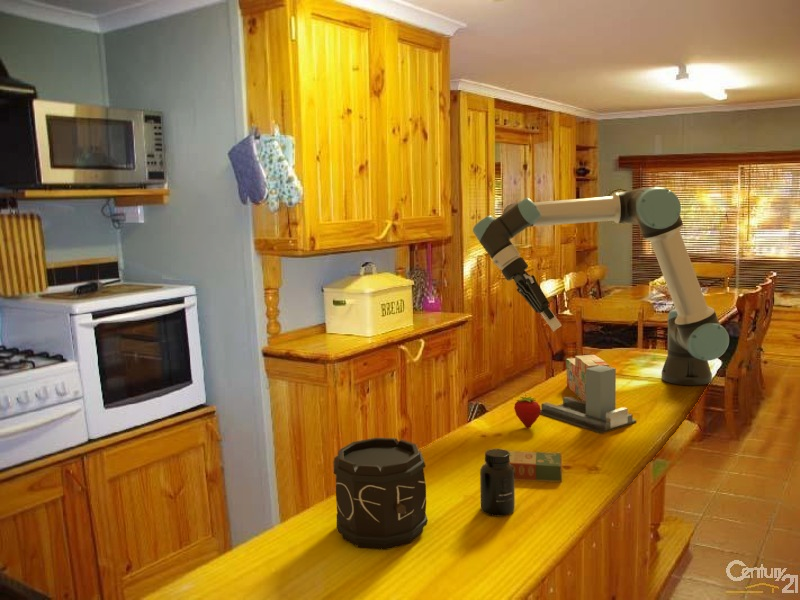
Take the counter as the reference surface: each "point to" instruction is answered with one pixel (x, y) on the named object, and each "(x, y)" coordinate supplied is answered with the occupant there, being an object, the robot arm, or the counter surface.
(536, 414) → the strawberry
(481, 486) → the supplement bottle
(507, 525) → the counter surface
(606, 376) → the grey rectangular block
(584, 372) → the stack of blocks
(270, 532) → the counter surface
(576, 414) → the chute
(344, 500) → the wooden barrel
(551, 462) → the carton
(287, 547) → the counter surface
